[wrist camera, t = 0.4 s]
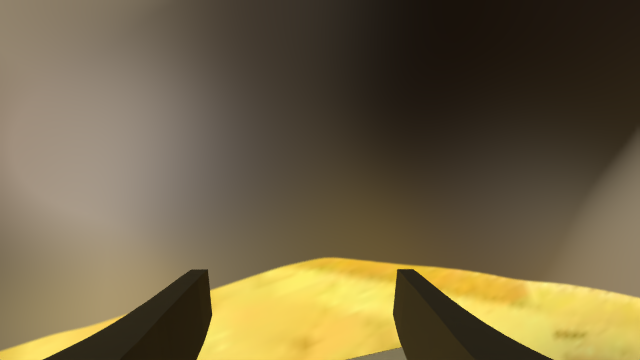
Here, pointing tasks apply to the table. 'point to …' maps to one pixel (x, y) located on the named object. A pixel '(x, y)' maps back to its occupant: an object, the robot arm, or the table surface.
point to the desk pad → (384, 355)
